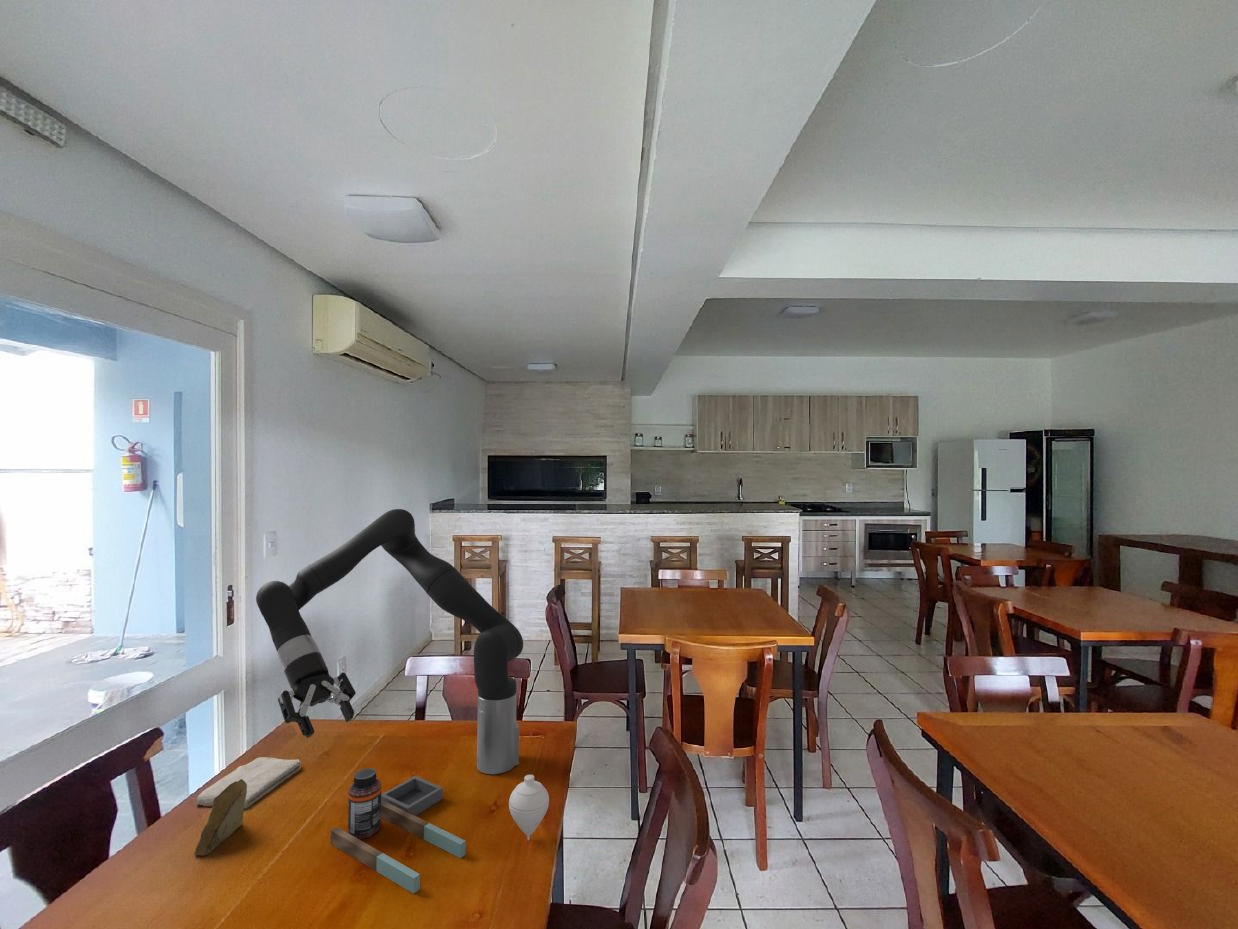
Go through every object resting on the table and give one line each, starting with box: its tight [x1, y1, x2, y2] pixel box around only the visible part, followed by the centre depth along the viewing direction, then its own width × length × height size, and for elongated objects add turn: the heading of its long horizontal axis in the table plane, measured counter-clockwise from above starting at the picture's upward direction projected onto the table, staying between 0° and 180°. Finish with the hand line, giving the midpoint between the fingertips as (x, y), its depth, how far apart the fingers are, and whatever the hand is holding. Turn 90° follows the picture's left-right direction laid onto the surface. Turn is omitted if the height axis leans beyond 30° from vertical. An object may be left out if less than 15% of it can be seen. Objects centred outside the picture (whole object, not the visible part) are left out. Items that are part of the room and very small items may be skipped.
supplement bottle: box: [347, 767, 382, 840], centre depth 109 cm, size 6×6×11 cm
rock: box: [193, 779, 247, 857], centre depth 106 cm, size 11×9×10 cm
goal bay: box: [375, 822, 467, 894], centre depth 100 cm, size 10×11×2 cm
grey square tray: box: [381, 775, 444, 817], centre depth 118 cm, size 9×9×2 cm
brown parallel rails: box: [330, 801, 429, 872], centre depth 106 cm, size 14×11×2 cm
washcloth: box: [195, 756, 302, 810], centre depth 125 cm, size 12×18×3 cm, turn 173°
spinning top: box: [508, 774, 550, 841], centre depth 107 cm, size 8×8×12 cm
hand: (331, 727), depth 115 cm, fingers open, 8 cm apart
